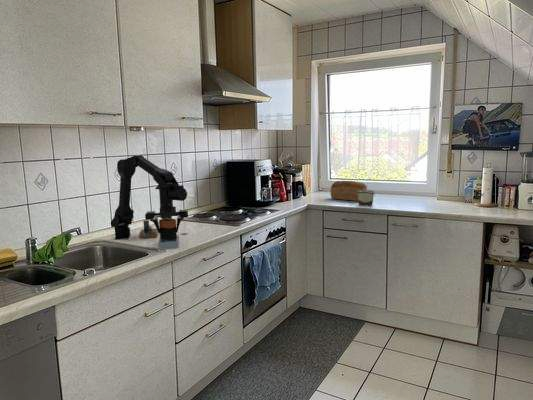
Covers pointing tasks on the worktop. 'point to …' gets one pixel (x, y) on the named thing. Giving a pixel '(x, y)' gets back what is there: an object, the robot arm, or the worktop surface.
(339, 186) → the bread
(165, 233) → the battery
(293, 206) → the worktop surface
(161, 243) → the tray
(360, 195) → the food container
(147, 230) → the crank
